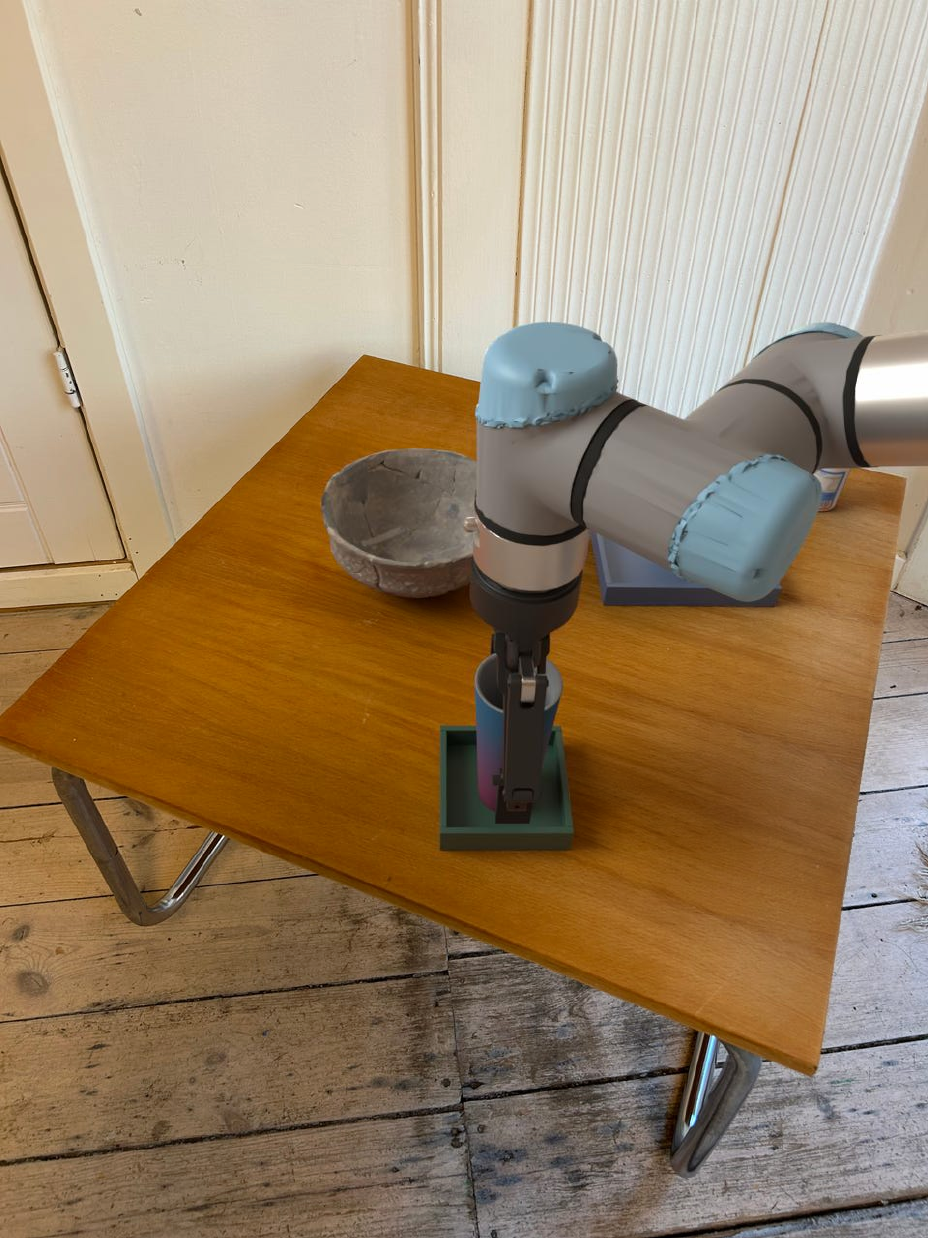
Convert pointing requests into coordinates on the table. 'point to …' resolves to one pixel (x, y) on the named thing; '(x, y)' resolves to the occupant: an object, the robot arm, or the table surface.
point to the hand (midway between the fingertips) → (507, 749)
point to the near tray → (475, 822)
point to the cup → (492, 722)
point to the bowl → (403, 520)
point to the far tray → (654, 581)
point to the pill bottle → (831, 486)
